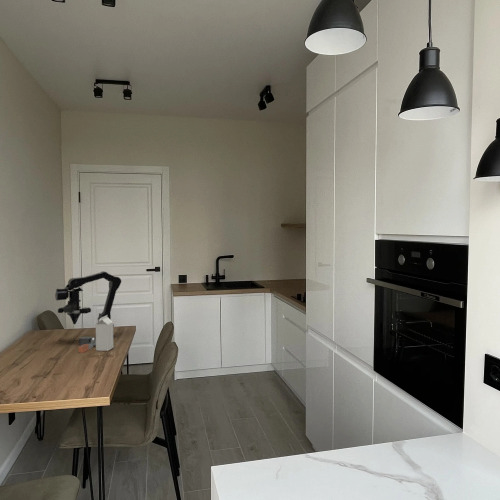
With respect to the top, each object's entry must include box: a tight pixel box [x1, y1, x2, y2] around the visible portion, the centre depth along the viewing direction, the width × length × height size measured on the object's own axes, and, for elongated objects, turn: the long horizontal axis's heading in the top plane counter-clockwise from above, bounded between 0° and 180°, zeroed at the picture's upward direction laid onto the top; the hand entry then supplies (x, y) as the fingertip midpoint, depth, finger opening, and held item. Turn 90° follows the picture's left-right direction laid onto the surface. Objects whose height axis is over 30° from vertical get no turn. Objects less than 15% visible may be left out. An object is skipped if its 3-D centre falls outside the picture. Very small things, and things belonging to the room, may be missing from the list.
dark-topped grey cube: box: [78, 336, 92, 347], centre depth 238 cm, size 5×6×5 cm
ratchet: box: [78, 336, 96, 354], centre depth 233 cm, size 16×8×5 cm, turn 173°
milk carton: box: [95, 315, 114, 352], centre depth 231 cm, size 7×7×19 cm
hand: (74, 324), depth 247 cm, fingers closed
